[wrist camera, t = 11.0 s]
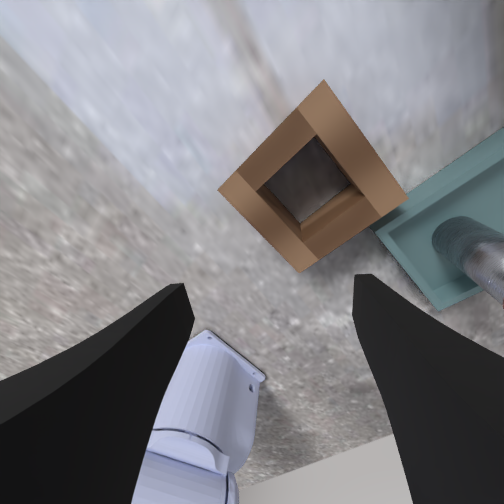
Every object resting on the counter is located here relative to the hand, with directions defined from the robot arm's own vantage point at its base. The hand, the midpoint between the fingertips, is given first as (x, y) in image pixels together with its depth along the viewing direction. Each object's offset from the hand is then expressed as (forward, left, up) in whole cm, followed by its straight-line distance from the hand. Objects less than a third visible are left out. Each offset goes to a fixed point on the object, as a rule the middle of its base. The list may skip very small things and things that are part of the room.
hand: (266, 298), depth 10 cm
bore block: (+1, -4, -10) cm, 11 cm away
